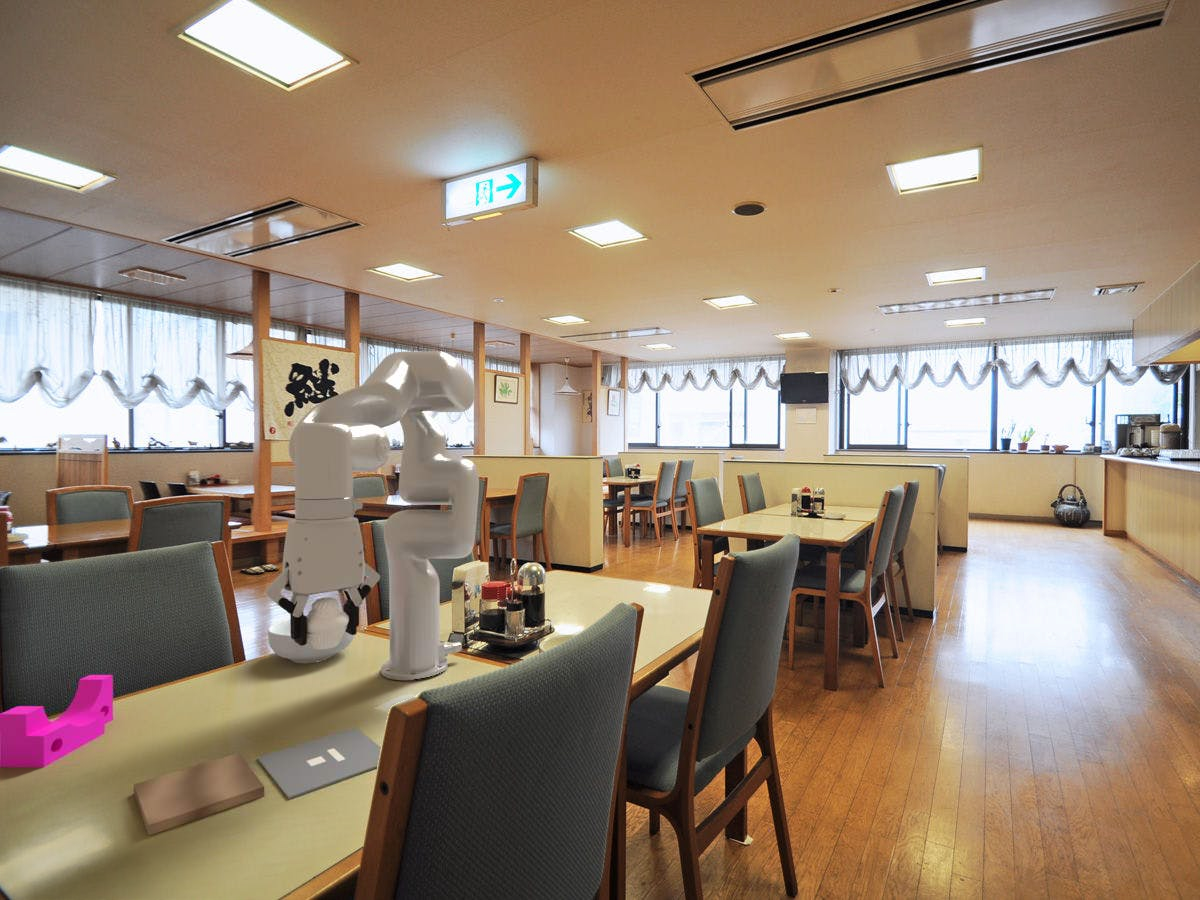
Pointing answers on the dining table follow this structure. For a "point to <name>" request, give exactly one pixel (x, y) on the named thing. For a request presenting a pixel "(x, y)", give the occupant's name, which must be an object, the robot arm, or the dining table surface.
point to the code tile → (321, 761)
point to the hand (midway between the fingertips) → (325, 636)
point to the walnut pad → (196, 792)
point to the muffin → (326, 623)
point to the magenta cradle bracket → (56, 726)
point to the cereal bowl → (300, 654)
